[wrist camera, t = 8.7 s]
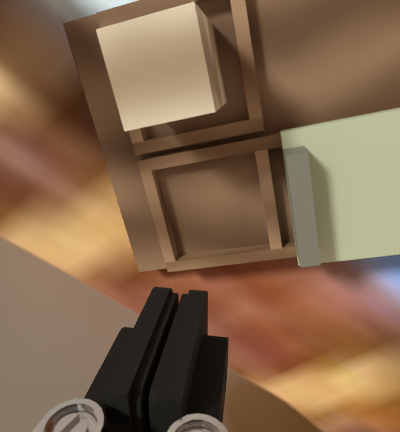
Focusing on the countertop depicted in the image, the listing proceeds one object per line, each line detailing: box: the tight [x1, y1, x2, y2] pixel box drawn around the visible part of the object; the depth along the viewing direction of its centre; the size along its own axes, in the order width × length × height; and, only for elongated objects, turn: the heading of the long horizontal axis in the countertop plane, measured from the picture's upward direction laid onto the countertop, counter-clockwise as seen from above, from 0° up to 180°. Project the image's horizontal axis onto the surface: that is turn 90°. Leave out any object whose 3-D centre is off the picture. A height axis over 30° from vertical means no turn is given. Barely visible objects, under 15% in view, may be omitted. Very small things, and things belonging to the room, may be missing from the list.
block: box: [96, 2, 227, 131], centre depth 19 cm, size 4×4×7 cm
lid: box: [280, 108, 400, 267], centre depth 21 cm, size 9×9×3 cm
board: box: [63, 0, 400, 272], centre depth 24 cm, size 18×20×3 cm
